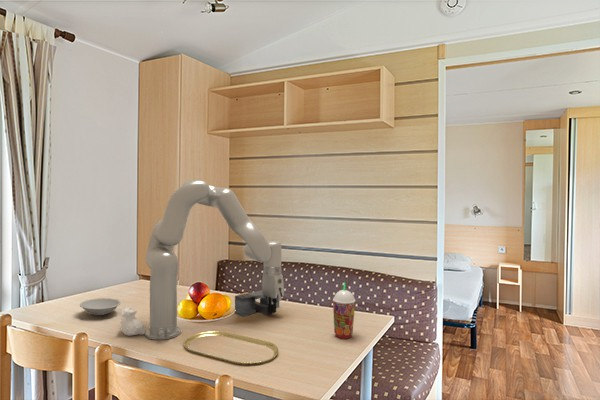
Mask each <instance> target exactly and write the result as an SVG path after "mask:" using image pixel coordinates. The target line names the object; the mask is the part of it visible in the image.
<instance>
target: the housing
mask: <svg viewBox="0 0 600 400" xmlns="http://www.w3.org/2000/svg"><path fill="white" fill-rule="evenodd" d="M245 293H246V294H243V293H240V294H241V295H239V294H238V295H235V296H234V311H235V310H236V313H235V314H236V315H239V316H241V317H245V316H250V315H253V314H256V310H255V301H257V300H259V302H260V303H262V304H265V305H268V304H269V303H267V299H266V298H265V297H264V294H263V293H262V289H261V290H257V291H251V292H245ZM277 308H280V301H279V302H277V304H276V309H277Z"/></svg>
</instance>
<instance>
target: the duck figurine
mask: <svg viewBox="0 0 600 400" xmlns="http://www.w3.org/2000/svg"><path fill="white" fill-rule="evenodd" d="M137 312H138V311H137V310H135V309H132V307H129V306H127V307H124V308H123V309H122V310H121V317H122V318H121V321H120V322H119V324H120V327H121V328H120V329H121V331H122V334H124V335H126V336H127V337H128V336H129V337H131V336H136V335H137V336H139V335H145V332H146V325H145V323H144V322H143V321H142V320H140V319H139V318H137V317H136V316H135V315H136V314H137ZM138 334H139V335H138Z"/></svg>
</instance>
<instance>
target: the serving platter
mask: <svg viewBox="0 0 600 400" xmlns="http://www.w3.org/2000/svg"><path fill="white" fill-rule="evenodd" d="M206 336H207V337H224V338H229V339H234V340H237V341H242V342H246V343H251V344H255V345H260V346H263V347H266V348H269V349H270V350H272V351H273V354H272V357H270V358H268V359H264V360H259V361H253V362H251V361H250V362H245V361H236V360H235V361H234V360H233V359H232V360H231V359H228V358H223V357H220V356H217V355H213V354H209V353H204V352H202V351H197V350H193V349H190V347H189V346H190V344H191V342H192V343H193V341H195V340H198V339H200V338H201V339H202V338H207V337H206ZM197 338H198V339H197ZM188 345H189V346H188ZM183 347H184V348H185V349H186V350H188V352H190V353H194V354H197V355H201V356H205V357H208V358H213V359H216V360H220V361H223V362H227V363H231V364H235V365H239V366H240V365H241V366H256V365H261V364H265V363H268V362H270V361H271V360H274V359H275V358H276V357H277V355H278V353H279V351H280V350H279V347H278V346H277V345H276V344H274V343H273V342H270V341H266V340H263V339H259V338H253V337H249V336H244V335H241V334H236V333H232V332H227V331H221V330H219V331H217V330H215V331H205V332H204V331H203V332H199V333H195V334H193V335H190V336H188V337H187V338H185V340H184V342H183ZM188 347H189V348H188Z"/></svg>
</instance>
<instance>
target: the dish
mask: <svg viewBox="0 0 600 400" xmlns="http://www.w3.org/2000/svg"><path fill="white" fill-rule="evenodd" d="M121 303H122V302H121V301H120V300H119V299H116V298H107V297H105V298H102V297H100V298H92V299H87V300H84V301H82V302H80V303H79V307H80V308H81V309H83V310H84V311H86V312H87V313H88V314H91V315H98V316H103V315H107V314H110V313H112V312H113V311H115V309H117V307H119V306H120V305H121Z"/></svg>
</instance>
